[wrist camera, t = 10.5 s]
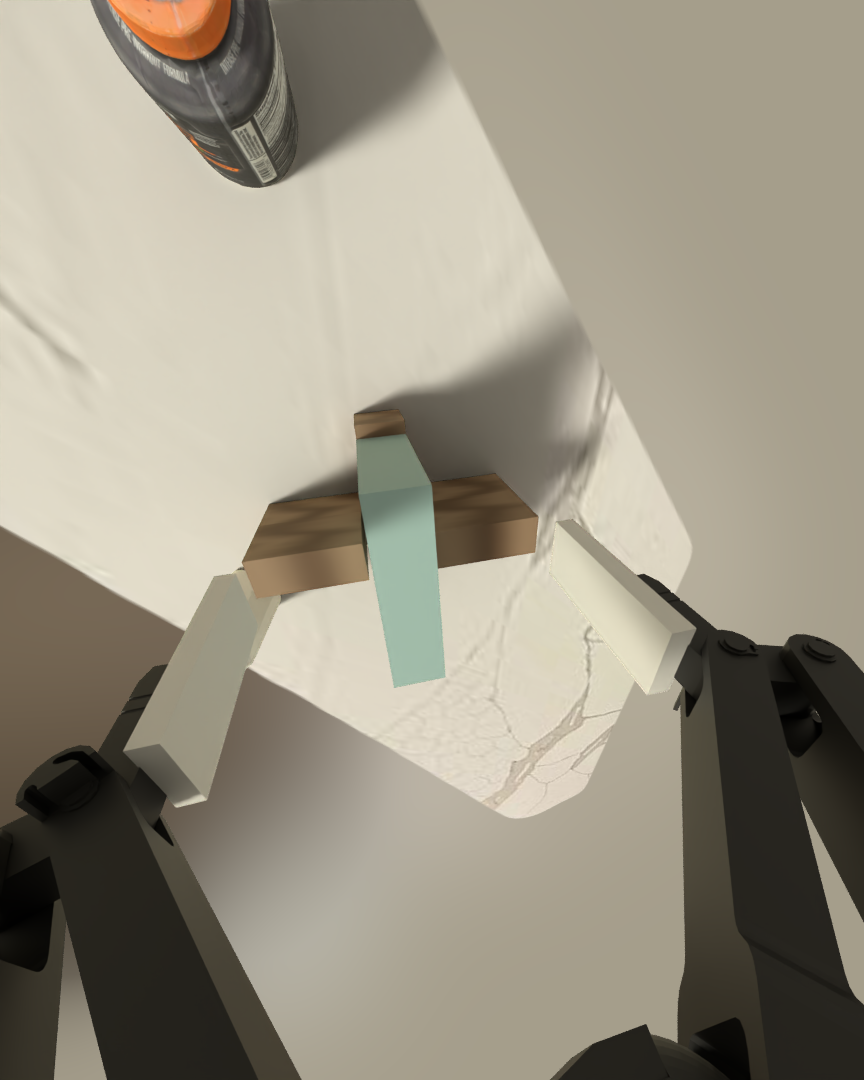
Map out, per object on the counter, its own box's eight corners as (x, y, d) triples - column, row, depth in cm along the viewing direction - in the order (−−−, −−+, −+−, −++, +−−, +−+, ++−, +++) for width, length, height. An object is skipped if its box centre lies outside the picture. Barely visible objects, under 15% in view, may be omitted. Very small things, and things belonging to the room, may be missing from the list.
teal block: (356, 439, 25) (358, 494, 17) (405, 433, 26) (431, 484, 17) (383, 594, 33) (394, 687, 24) (421, 588, 33) (445, 677, 25)
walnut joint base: (298, 591, 36) (283, 663, 28) (243, 426, 27) (201, 463, 20) (493, 559, 38) (528, 617, 30) (497, 398, 30) (547, 422, 22)
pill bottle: (153, 94, 19) (-55, -152, 9) (230, -6, 18) (87, -401, 8) (251, 217, 22) (171, 128, 12) (322, 138, 21) (296, -28, 11)
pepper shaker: (241, 619, 36) (202, 722, 27) (207, 579, 33) (151, 677, 24) (292, 601, 36) (272, 696, 27) (264, 559, 33) (229, 649, 24)
